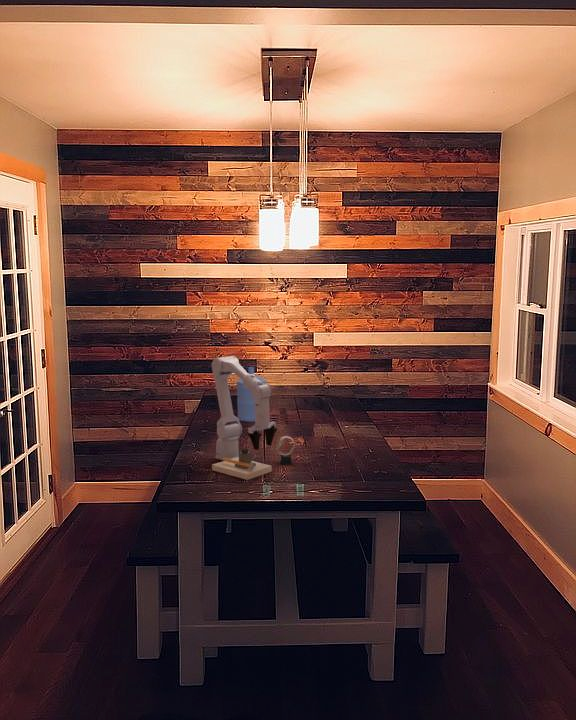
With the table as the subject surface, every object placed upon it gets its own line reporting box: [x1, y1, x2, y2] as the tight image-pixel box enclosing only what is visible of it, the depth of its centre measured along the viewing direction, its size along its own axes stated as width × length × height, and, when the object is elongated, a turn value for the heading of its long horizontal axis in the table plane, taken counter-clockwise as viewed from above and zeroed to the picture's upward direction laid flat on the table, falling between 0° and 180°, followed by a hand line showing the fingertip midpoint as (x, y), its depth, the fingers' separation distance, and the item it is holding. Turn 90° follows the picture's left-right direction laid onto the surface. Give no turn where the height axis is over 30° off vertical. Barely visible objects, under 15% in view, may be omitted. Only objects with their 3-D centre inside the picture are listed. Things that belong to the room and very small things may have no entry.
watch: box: [275, 435, 296, 465], centre depth 289 cm, size 6×8×11 cm
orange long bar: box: [222, 458, 254, 470], centre depth 276 cm, size 16×2×2 cm, turn 49°
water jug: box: [236, 366, 267, 423], centre depth 368 cm, size 16×16×28 cm
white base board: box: [211, 457, 273, 481], centre depth 279 cm, size 20×14×2 cm
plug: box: [235, 447, 256, 469], centre depth 277 cm, size 6×6×10 cm
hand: (262, 447), depth 279 cm, fingers open, 7 cm apart
